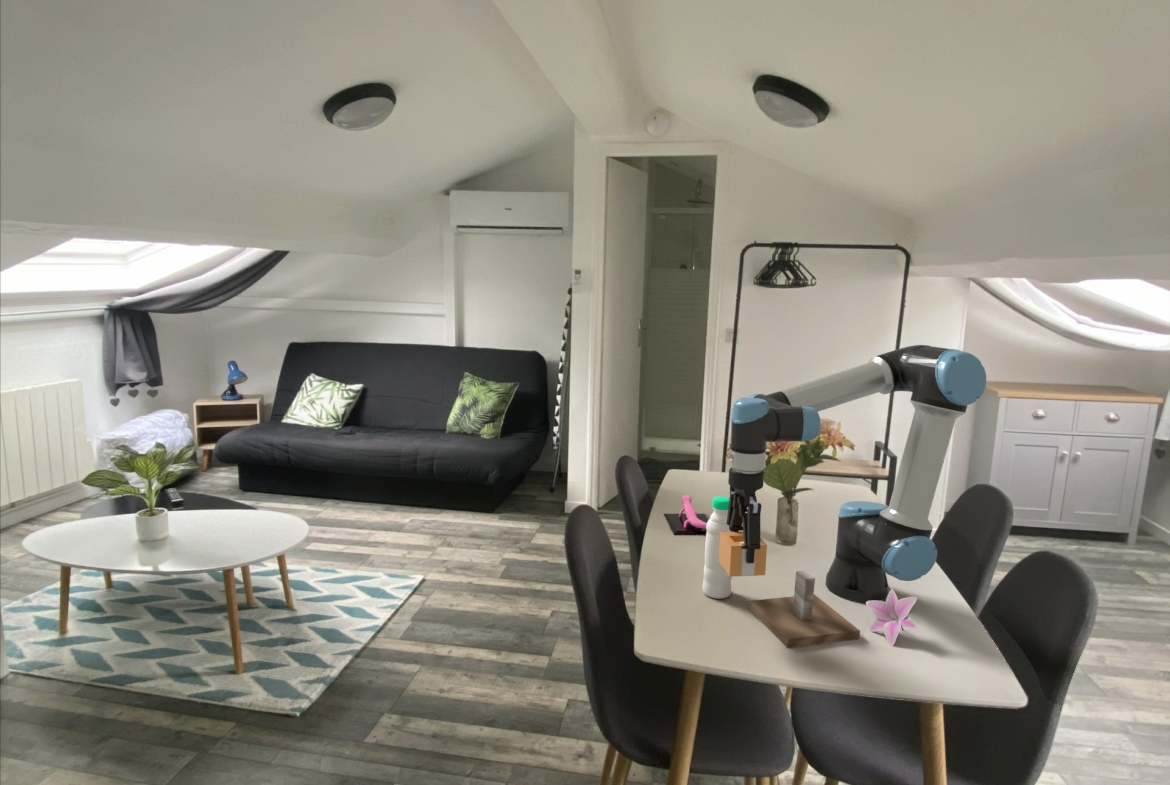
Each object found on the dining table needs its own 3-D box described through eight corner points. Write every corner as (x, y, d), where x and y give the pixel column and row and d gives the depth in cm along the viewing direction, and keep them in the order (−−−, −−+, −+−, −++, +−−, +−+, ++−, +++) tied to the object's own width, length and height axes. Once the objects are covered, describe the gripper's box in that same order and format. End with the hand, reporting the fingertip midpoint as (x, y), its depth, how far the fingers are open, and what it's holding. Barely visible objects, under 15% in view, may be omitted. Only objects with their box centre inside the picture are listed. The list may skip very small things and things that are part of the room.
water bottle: (709, 601, 170) (715, 504, 166) (697, 588, 177) (703, 494, 173) (735, 598, 172) (742, 502, 168) (722, 586, 179) (728, 493, 175)
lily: (862, 621, 165) (854, 593, 160) (911, 606, 163) (904, 578, 159) (883, 662, 154) (875, 633, 150) (936, 646, 153) (930, 617, 148)
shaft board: (813, 601, 172) (817, 556, 170) (859, 638, 154) (864, 588, 152) (747, 608, 167) (751, 561, 165) (787, 647, 150) (791, 595, 148)
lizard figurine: (704, 514, 234) (706, 494, 232) (720, 537, 214) (722, 514, 213) (662, 514, 233) (663, 493, 231) (674, 537, 213) (675, 514, 212)
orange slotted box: (752, 560, 159) (754, 530, 158) (765, 575, 152) (767, 543, 150) (718, 561, 159) (720, 531, 157) (729, 576, 151) (731, 544, 149)
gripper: (715, 456, 161) (711, 549, 165) (746, 483, 140) (739, 588, 144) (747, 456, 162) (741, 548, 166) (781, 483, 141) (774, 587, 145)
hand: (740, 566), depth 155 cm, fingers closed on orange slotted box, 8 cm apart
